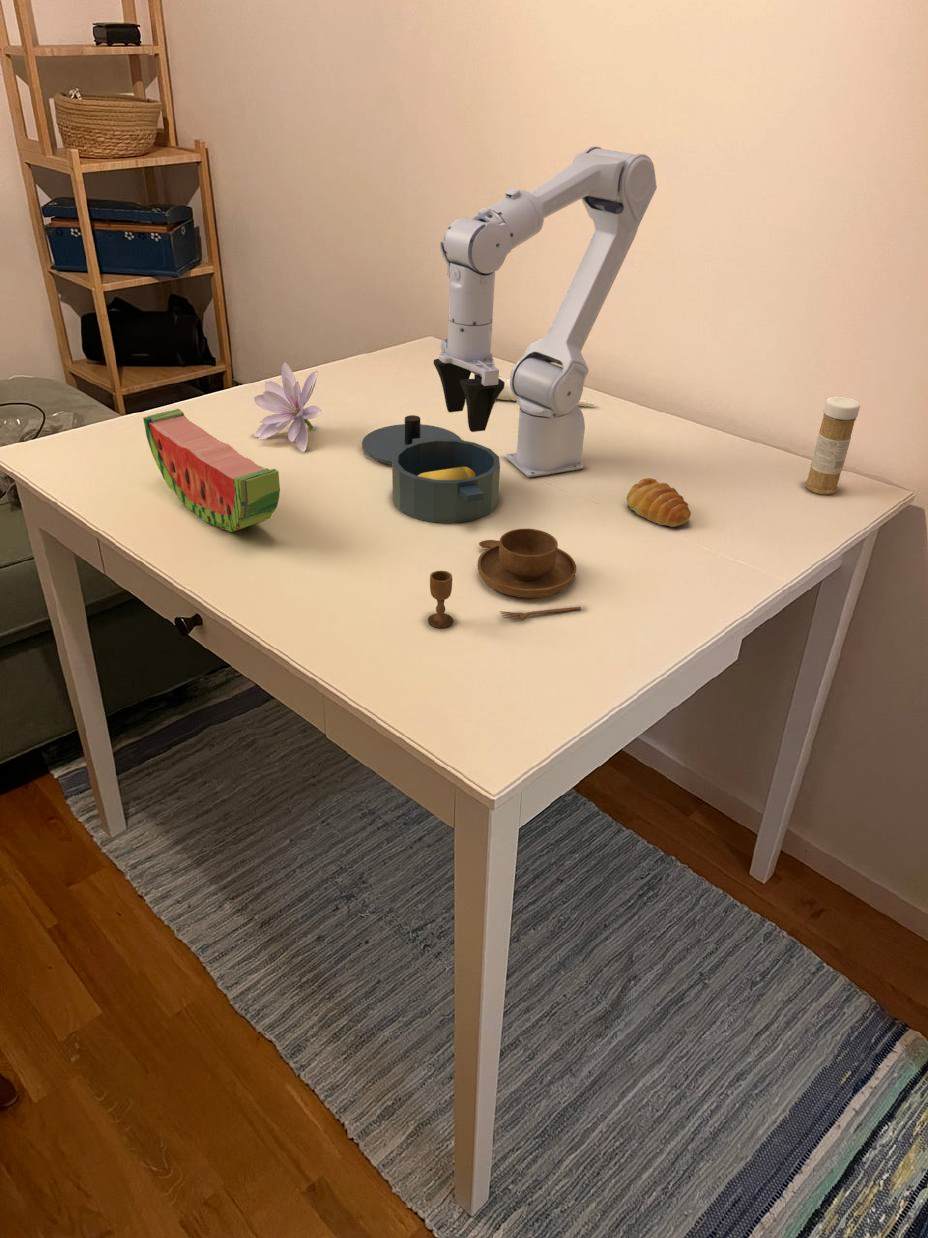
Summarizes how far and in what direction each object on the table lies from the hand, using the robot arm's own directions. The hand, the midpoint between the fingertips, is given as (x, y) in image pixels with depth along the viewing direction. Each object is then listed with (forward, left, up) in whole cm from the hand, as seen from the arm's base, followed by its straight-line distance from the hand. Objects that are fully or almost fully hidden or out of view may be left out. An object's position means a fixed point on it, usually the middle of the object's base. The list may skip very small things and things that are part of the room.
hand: (466, 420), depth 127 cm
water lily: (+19, -27, -11) cm, 35 cm away
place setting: (+7, +25, -11) cm, 28 cm away
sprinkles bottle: (-49, +18, -11) cm, 54 cm away
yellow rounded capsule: (+4, +2, -10) cm, 11 cm away
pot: (+4, +2, -10) cm, 11 cm away
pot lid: (+2, -16, -10) cm, 19 cm away
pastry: (-22, +16, -11) cm, 29 cm away
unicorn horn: (-24, -30, -11) cm, 40 cm away
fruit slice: (+34, -5, -11) cm, 36 cm away
